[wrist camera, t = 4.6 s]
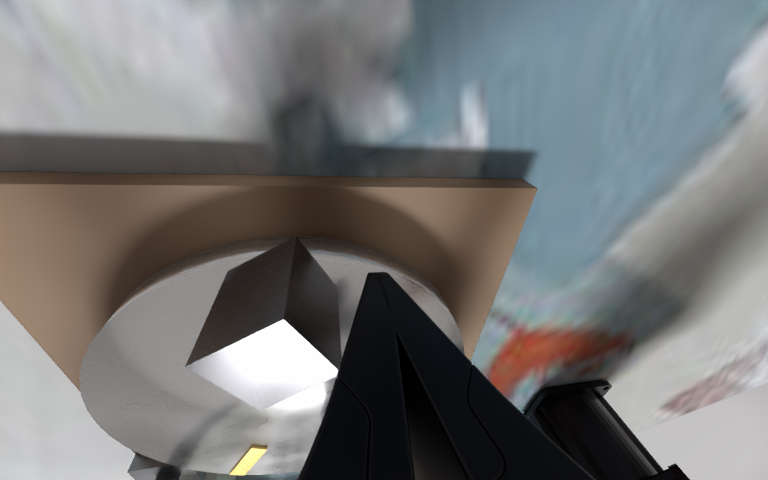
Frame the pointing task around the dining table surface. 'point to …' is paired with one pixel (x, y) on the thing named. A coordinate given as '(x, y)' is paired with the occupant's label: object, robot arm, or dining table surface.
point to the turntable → (237, 351)
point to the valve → (219, 476)
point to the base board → (236, 237)
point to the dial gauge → (160, 470)
